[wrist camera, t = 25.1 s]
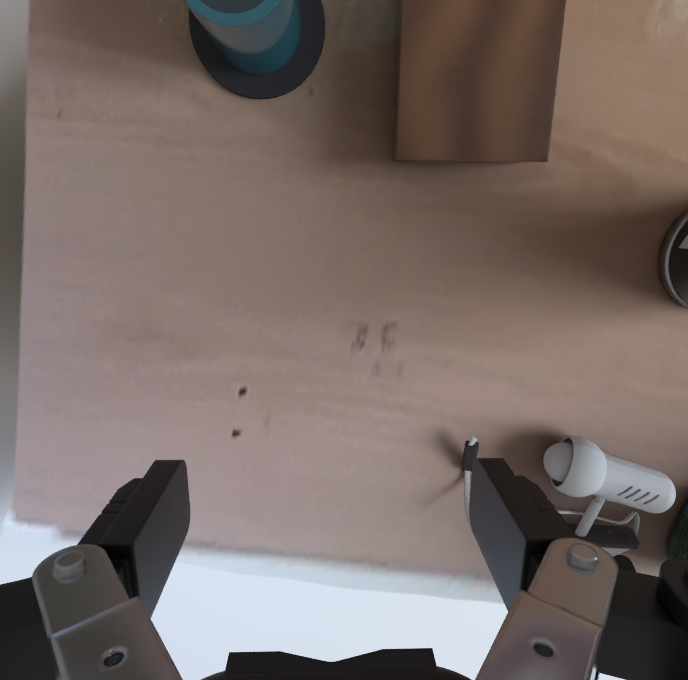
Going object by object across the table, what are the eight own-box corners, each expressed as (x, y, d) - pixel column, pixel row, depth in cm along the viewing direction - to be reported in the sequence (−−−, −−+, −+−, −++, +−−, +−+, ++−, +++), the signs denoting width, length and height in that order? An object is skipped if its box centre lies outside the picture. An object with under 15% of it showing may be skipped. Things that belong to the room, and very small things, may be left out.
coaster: (324, -51, 34) (324, -54, 34) (324, 100, 37) (325, 99, 36) (185, -55, 34) (183, -58, 33) (195, 97, 36) (193, 96, 36)
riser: (541, -20, 35) (572, -52, 31) (523, 166, 38) (548, 161, 34) (394, -24, 35) (403, -57, 30) (388, 164, 38) (396, 159, 34)
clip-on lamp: (435, 496, 49) (617, 559, 47) (433, 539, 43) (641, 613, 41) (475, 394, 45) (675, 457, 43) (478, 425, 39) (711, 500, 37)
